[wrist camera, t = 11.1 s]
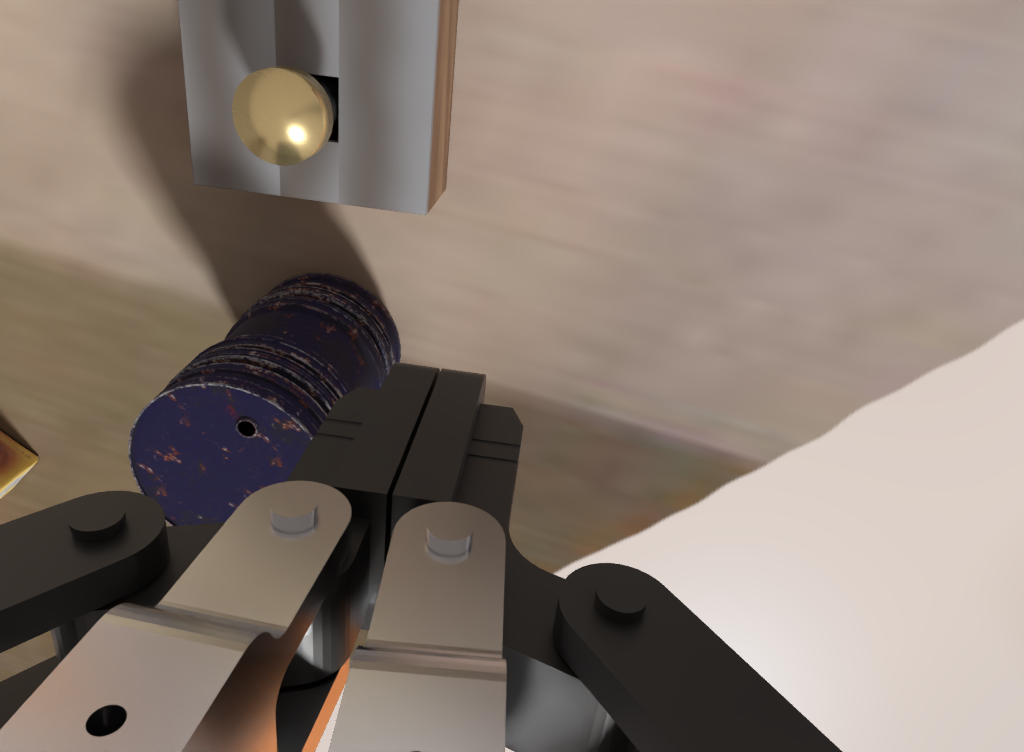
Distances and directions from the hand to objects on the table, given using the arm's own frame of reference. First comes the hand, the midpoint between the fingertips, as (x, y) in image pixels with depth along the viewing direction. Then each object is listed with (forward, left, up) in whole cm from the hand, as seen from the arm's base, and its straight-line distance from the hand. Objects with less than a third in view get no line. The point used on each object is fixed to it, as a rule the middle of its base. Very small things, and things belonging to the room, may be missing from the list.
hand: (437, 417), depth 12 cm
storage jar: (+12, +15, -32) cm, 37 cm away
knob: (+11, 0, -31) cm, 33 cm away
